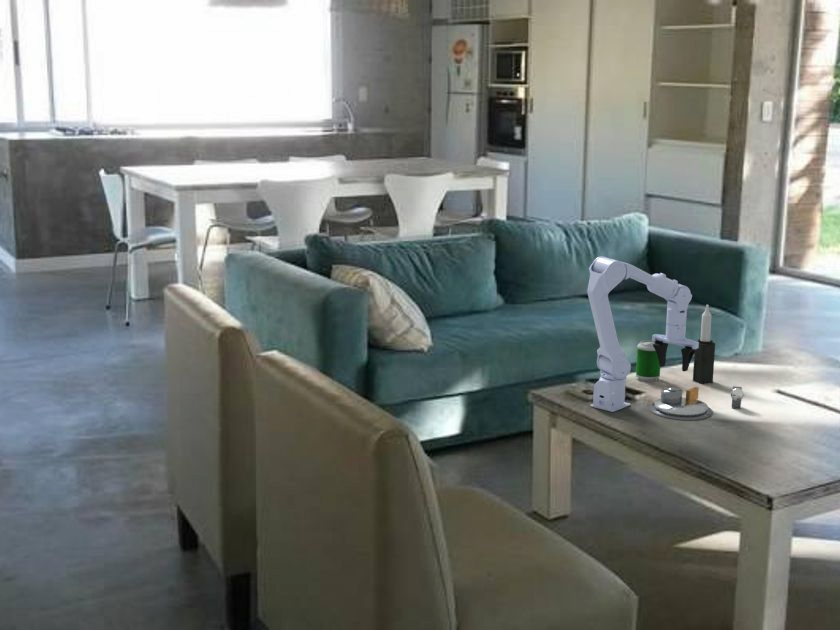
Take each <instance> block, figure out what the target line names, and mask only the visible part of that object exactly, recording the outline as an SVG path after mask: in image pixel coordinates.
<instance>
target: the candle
mask: <svg viewBox="0 0 840 630" xmlns="http://www.w3.org/2000/svg"><path fill="white" fill-rule="evenodd" d="M709 306H710V305H709V304H706V306H705V310H704V312H703V313H702V314H701V324H700V325H701V327H700V338H699V339H697V342H699V348H698V349H697V350H696V352H695V353H694V355H693V366H692V367H693V370H692V371H693V372H692V373H693V374H692V381H693V382H695V383H698V384H701V385H707V384H713V383H714V382H713V381H714V367H715V355H716V354H715V353H716V352H715V351H716V343H715V342H714V341H713V340H712V339H711V335H712V334H711V333H712V332H711V330H712V317H713V316H712V313H711V312H710V309H709Z"/></svg>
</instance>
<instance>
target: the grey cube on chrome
mask: <svg viewBox="0 0 840 630" xmlns="http://www.w3.org/2000/svg"><path fill="white" fill-rule="evenodd" d="M744 396H745V394H744V391H743V387H742V386H736V385H735V386H734V385H733V386H732V390H731V391H730V397H731V409H734V410H735V409H736V410H738V409H739V410H741V409H742V408H741V407H742V406H741V405H742V400H743V398H744Z"/></svg>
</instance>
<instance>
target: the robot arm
mask: <svg viewBox="0 0 840 630" xmlns="http://www.w3.org/2000/svg"><path fill="white" fill-rule="evenodd" d="M588 270H589V271H588V272H589V280H588V285H587V292H586V293H587V296H588V300H589V304H590V305H589V306H590V309H591V313H592V314H591V315H592V318H593V321H594V326H595V331H596V335H597V338H598V339H597V340H598V343H599V348H598V349H597V350H596V353H597V358H596V366H597V368H598V370H600V371H599V372H600V373H599V374H600V377H599V380H598V381H596V382H595V383H594V386H593V393H592V394H593V397H592V404H591V403H590V407H592V408H596V409H600V410H603V411H607V412H616V411H619V410H621V409H624V408H627V407H629V406H631V403H630V402H626V400H625V399H626V382H627V381H626V379H627V377H628V376H629V374H630V372H631V370H632V369H631V368H632V365H631V362H630V360H629V359H628V358H627V356H626V353H625V351H624V349H623V348H622V347H621V345H620V344H619V340H618V335H617V331H616V326H615V321H614V317H613V313H612V309H611V303H610V300H609V293H610V292H611V291H612V290H613V289H614V288H616V287H617V286H618V284H621V282H622V281H623V280H628V279H631V280H634V281H636V282H639V283H641V284H643V285H645V286H646V288H647V290H648V291H649V292H650V293H652V294H655V295H657V296H658V297H660V298H663V299H665V301H666V304H667V305H666V306H667V307H666V325H665V334H657V333H655V334H652V336H651V341H654V342H655V343H654V344H653V347H654V349H655V351H656V353H657V356H658V360H659V365H660V368H661V367H665V366H666V362H667V361H666V360H667V351H668V347H669V345H673V346H679V347H684V348H681V349H680V351H681V356H682V358H681V359H682V364H681V371H682V372H687V371H689V367H690V363H691V361H692V359H693V358H694V353H695V352H696V350H697V349H698V348H699V342H697V341H698V340H697V341H695V340H693V339H690V338H686V333H687V332H686V331H687V330H686V328H687V315H688V312H687V311H688V308H689V303H690V302H691V300H692V297H693V294H692V293H691V290H690V288H689V287H688V286H687V285H683V284H681V283H678V282H679V281H678V280H676V279H670V278H668V277H667V275H666V274H665V273H662V272H660V273H653V274H650V273H648V272H647V271H644V270H643V269H640V268H638V267H637V266H635V265H633V264H630V263H627V262H624V261H621V260H617V259H613V258H608V257H606V256H605V255H602V256H598V257H596V258H595V259H593V262H592V263H591V265H590V266H589V268H588Z"/></svg>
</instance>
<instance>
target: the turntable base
mask: <svg viewBox="0 0 840 630" xmlns="http://www.w3.org/2000/svg"><path fill="white" fill-rule="evenodd" d="M648 410H649V412H651V413H652V414H654V415H656V416H659V417H661V418H666V419H668V420H669V419H670V420H676V421H677V420H678V421H701V420H704V419H705V420H706V419H708V418H710V417H712V416H713V414H714V411H713V409H712V408H710V407H709V406H708V412H707V413H706V414H703V415H700V416H692V417H683V416H673V415H668V414H664V413H661V412H659V411H657V410H656V409H655V402H653V403H651V404H650V405H649V408H648Z"/></svg>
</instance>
